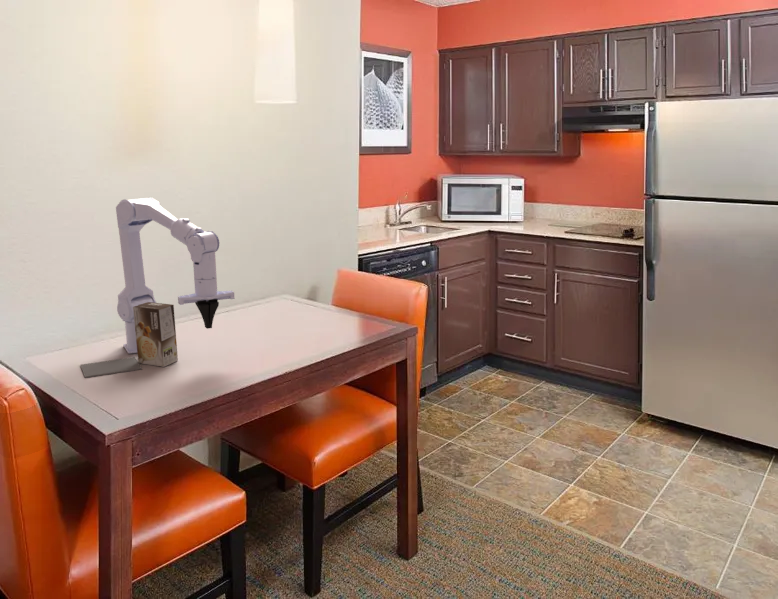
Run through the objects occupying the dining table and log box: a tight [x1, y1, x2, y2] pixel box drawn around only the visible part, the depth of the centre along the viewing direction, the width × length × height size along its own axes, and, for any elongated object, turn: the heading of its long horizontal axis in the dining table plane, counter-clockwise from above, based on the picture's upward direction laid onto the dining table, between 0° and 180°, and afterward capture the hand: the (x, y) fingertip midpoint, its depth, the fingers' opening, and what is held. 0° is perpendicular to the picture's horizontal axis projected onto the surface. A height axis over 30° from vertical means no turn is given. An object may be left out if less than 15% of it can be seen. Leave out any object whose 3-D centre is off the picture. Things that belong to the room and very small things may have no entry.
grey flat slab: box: [80, 356, 143, 379], centre depth 183 cm, size 11×14×1 cm
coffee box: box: [133, 302, 179, 368], centre depth 186 cm, size 9×6×16 cm
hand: (208, 327), depth 183 cm, fingers closed
